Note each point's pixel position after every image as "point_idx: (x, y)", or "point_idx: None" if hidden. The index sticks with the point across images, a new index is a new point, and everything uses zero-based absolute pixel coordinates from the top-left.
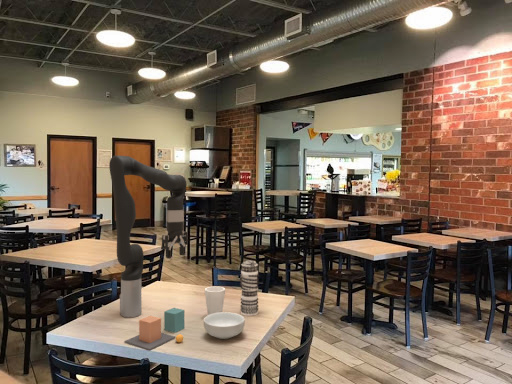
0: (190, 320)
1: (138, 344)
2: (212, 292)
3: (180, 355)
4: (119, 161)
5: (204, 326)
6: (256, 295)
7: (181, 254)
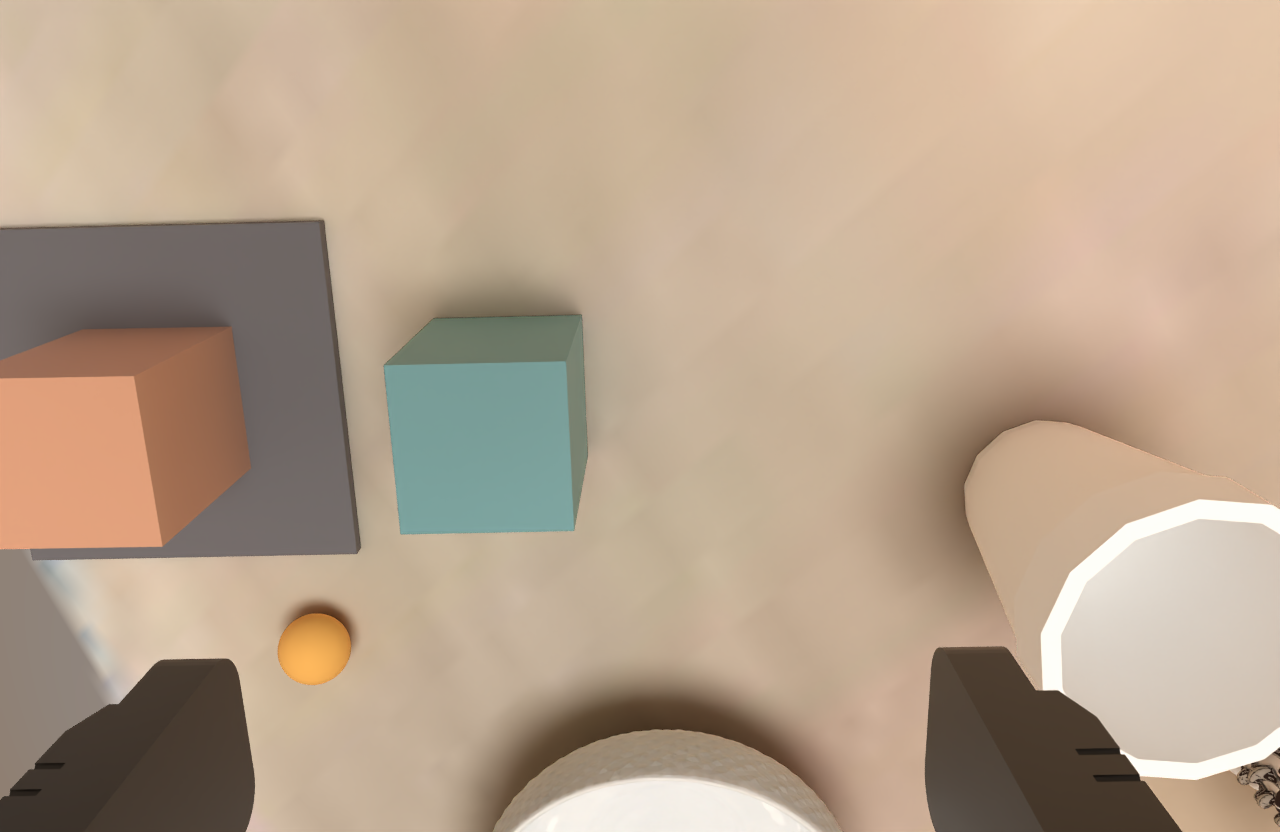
0: (800, 353)
1: None
2: None
3: None
4: None
5: (508, 810)
6: None
7: (937, 739)
